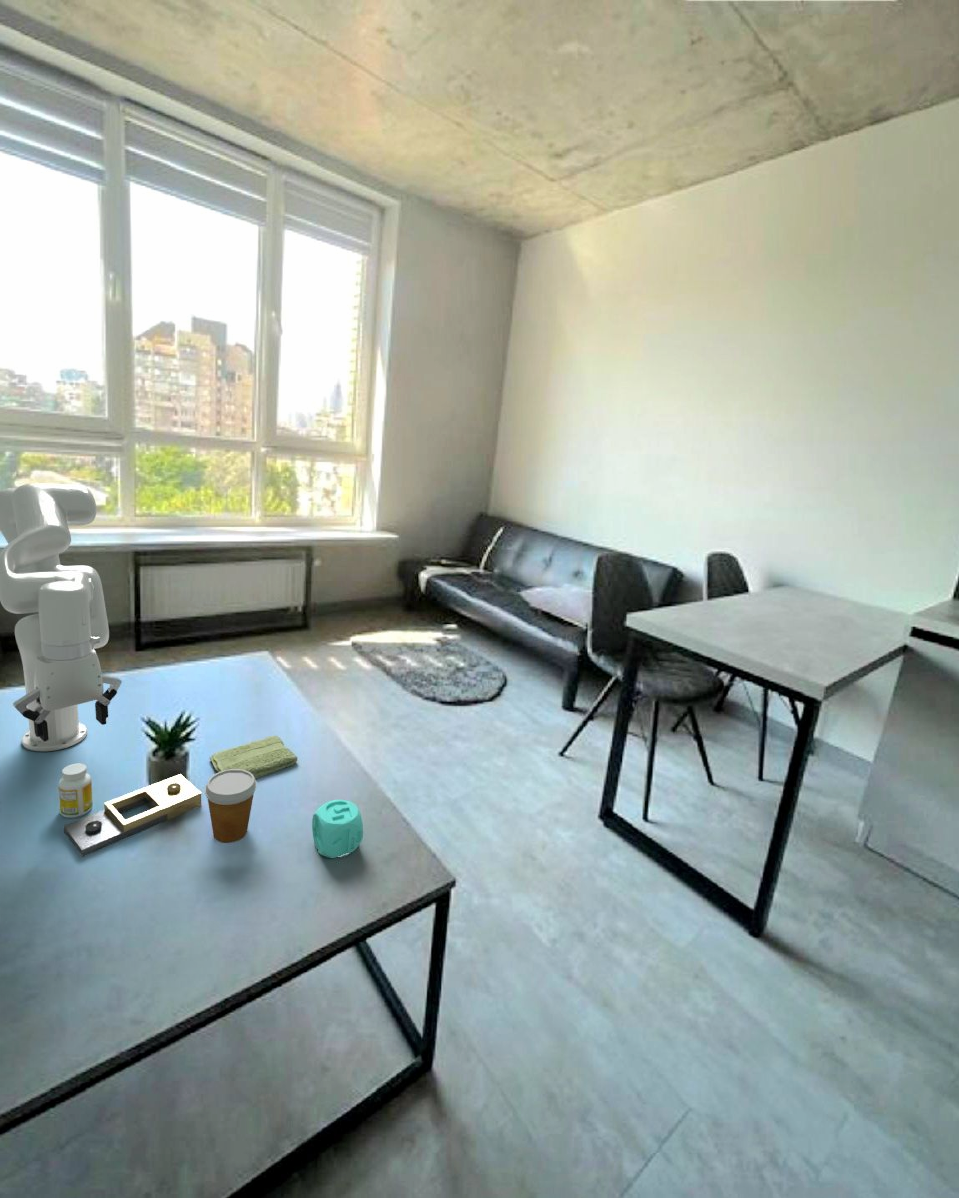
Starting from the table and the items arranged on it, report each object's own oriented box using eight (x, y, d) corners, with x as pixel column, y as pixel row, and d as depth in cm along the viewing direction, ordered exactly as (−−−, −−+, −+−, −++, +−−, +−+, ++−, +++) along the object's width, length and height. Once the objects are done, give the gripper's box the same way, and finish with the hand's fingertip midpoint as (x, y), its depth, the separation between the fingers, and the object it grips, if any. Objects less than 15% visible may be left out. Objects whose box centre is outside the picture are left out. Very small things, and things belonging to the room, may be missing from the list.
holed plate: (64, 832, 109) (62, 814, 108) (180, 786, 126) (180, 770, 125) (82, 856, 104) (81, 838, 103) (201, 805, 121) (201, 789, 120)
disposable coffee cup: (265, 826, 118) (267, 776, 115) (232, 855, 109) (233, 802, 106) (228, 811, 121) (229, 762, 117) (193, 838, 112) (192, 786, 109)
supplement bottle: (65, 822, 112) (61, 780, 109) (56, 808, 115) (53, 767, 112) (96, 811, 116) (94, 770, 113) (87, 798, 119) (85, 758, 116)
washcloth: (206, 762, 137) (206, 750, 136) (277, 742, 149) (277, 731, 148) (226, 790, 128) (226, 777, 127) (300, 767, 140) (300, 755, 139)
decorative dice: (322, 863, 110) (324, 828, 108) (310, 837, 117) (312, 804, 115) (361, 852, 115) (364, 818, 112) (348, 827, 121) (351, 795, 119)
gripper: (110, 632, 114) (114, 709, 119) (2, 651, 101) (11, 737, 106) (127, 644, 110) (130, 723, 115) (16, 666, 97) (25, 754, 101)
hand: (73, 729), depth 110 cm, fingers open, 9 cm apart
